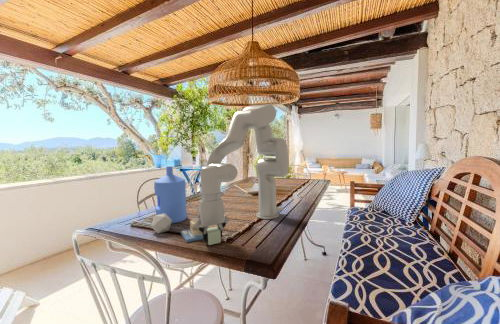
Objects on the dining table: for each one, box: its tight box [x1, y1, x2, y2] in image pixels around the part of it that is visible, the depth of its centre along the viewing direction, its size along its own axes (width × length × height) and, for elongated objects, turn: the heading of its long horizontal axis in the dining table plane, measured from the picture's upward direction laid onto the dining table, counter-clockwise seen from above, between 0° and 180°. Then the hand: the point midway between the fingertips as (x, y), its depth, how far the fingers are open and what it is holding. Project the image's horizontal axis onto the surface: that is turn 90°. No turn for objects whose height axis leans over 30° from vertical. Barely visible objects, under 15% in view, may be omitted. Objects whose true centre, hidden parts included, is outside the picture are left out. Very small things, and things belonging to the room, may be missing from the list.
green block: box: [207, 226, 222, 246], centre depth 99 cm, size 5×5×5 cm
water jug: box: [153, 166, 188, 225], centre depth 128 cm, size 16×16×28 cm
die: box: [150, 213, 172, 234], centre depth 113 cm, size 8×9×10 cm
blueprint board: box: [180, 228, 203, 243], centre depth 108 cm, size 12×11×1 cm
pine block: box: [189, 218, 203, 235], centre depth 108 cm, size 5×5×5 cm
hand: (212, 240), depth 99 cm, fingers closed on green block, 4 cm apart
